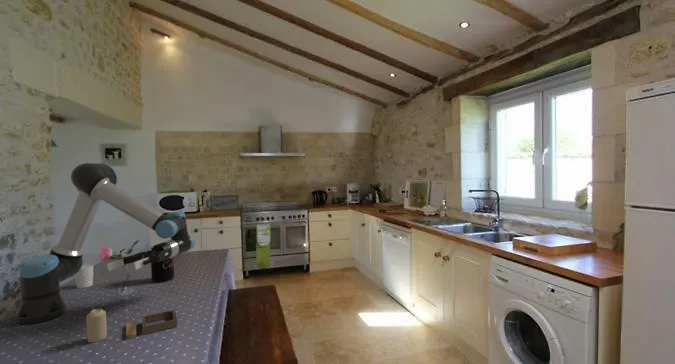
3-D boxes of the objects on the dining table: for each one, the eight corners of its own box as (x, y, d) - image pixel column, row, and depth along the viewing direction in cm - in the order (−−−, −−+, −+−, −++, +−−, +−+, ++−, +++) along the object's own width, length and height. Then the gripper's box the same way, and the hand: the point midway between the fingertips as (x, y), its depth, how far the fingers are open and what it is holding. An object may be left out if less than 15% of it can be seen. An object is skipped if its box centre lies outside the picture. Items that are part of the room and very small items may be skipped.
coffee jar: (165, 283, 176) (163, 248, 176) (147, 282, 178) (145, 248, 178) (178, 276, 187) (177, 244, 186) (161, 276, 189) (160, 243, 188)
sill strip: (126, 339, 117) (125, 335, 117) (126, 325, 127) (126, 322, 127) (136, 336, 118) (136, 333, 118) (136, 323, 129) (136, 320, 129)
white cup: (71, 287, 173) (70, 268, 173) (87, 282, 180) (86, 263, 180) (81, 289, 170) (80, 269, 170) (97, 284, 177) (96, 265, 177)
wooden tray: (142, 334, 120) (142, 327, 120) (142, 323, 129) (142, 316, 129) (177, 326, 125) (177, 319, 125) (174, 316, 135) (174, 309, 135)
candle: (92, 344, 114) (90, 314, 114) (84, 340, 117) (82, 311, 116) (110, 337, 119) (108, 308, 118) (102, 333, 122) (101, 305, 121)
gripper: (189, 257, 146) (148, 275, 126) (144, 260, 154) (98, 277, 134) (186, 240, 146) (144, 255, 126) (141, 244, 154) (95, 258, 133)
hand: (120, 266), depth 130 cm, fingers open, 13 cm apart
